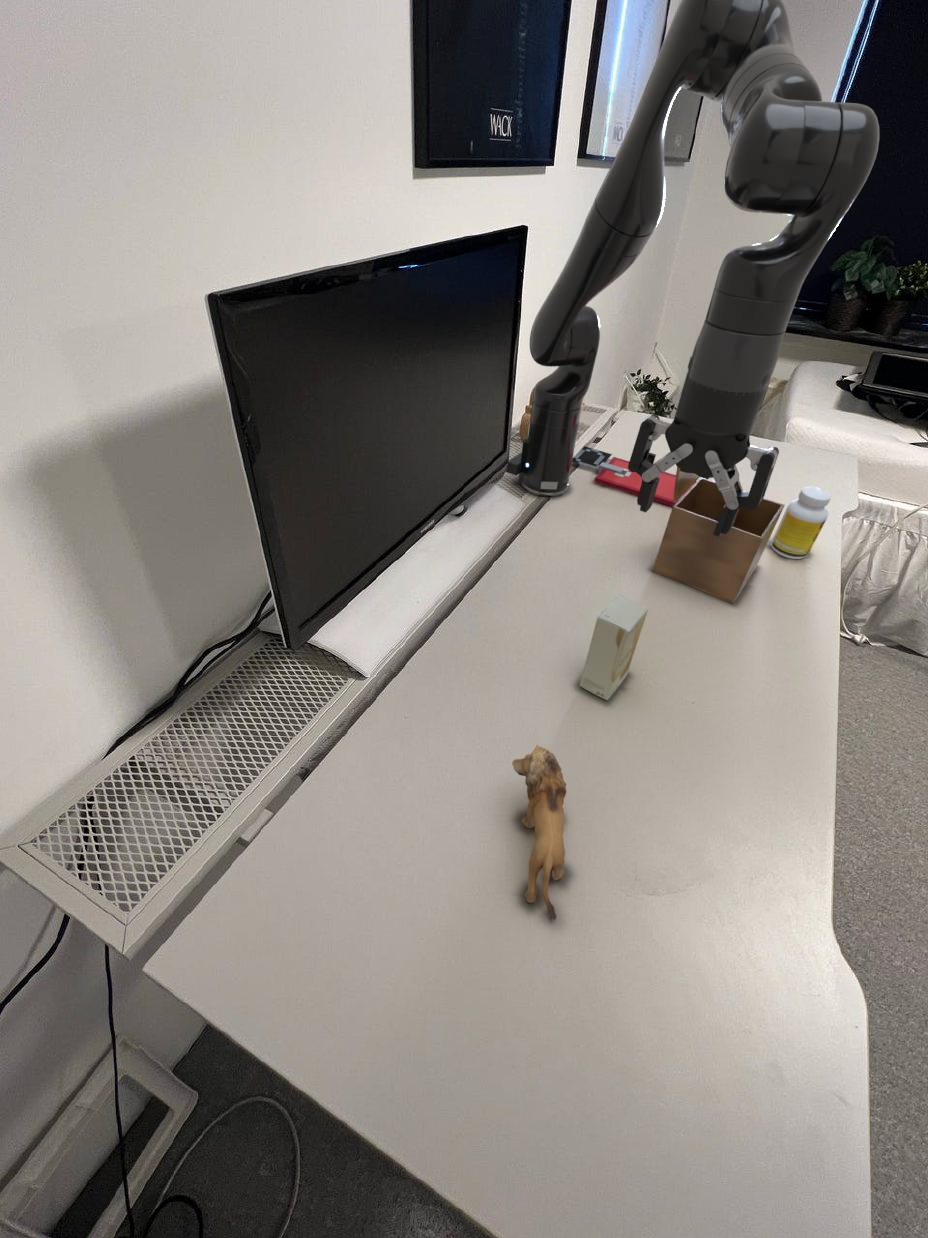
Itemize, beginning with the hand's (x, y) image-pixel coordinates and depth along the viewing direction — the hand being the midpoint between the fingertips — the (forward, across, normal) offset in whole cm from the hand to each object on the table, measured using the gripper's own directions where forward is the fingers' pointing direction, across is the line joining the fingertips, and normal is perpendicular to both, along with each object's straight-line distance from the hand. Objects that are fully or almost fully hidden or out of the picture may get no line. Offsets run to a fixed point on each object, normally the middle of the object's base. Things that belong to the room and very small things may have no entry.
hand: (680, 521), depth 68 cm
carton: (+23, -1, -30) cm, 38 cm away
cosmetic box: (+24, +2, +5) cm, 24 cm away
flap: (+7, +7, -30) cm, 31 cm away
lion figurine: (+24, -2, +31) cm, 39 cm away
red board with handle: (+23, +21, -53) cm, 62 cm away
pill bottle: (+23, -11, -46) cm, 52 cm away
